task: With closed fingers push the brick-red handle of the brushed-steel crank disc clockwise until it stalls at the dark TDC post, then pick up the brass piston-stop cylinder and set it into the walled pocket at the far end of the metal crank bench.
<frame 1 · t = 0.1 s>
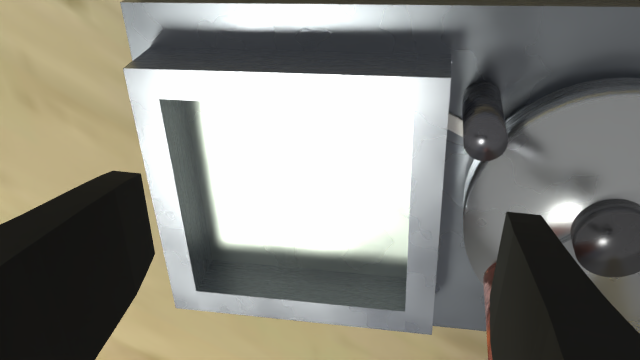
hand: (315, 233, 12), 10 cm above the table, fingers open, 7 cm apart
crank bench: (448, 176, 22), on the table
crank: (620, 255, 18), point 4 cm above the table, hinge at 130.0°
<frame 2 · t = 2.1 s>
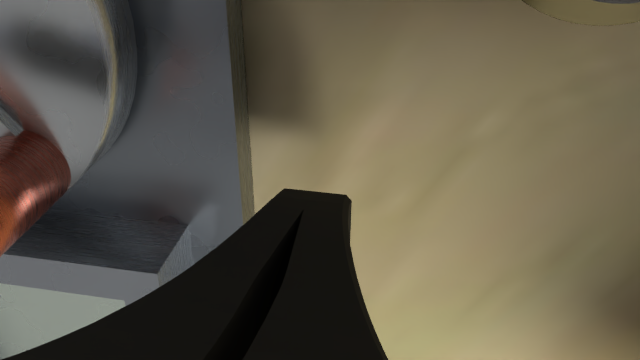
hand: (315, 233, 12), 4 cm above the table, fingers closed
crank bench: (34, 178, 17), on the table
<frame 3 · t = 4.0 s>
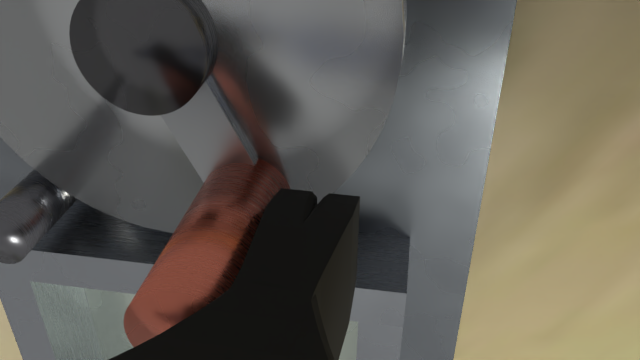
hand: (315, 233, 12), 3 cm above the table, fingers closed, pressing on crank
crank bench: (221, 187, 16), on the table
crank: (124, 61, 10), point 4 cm above the table, hinge at 116.0°, touching gripper
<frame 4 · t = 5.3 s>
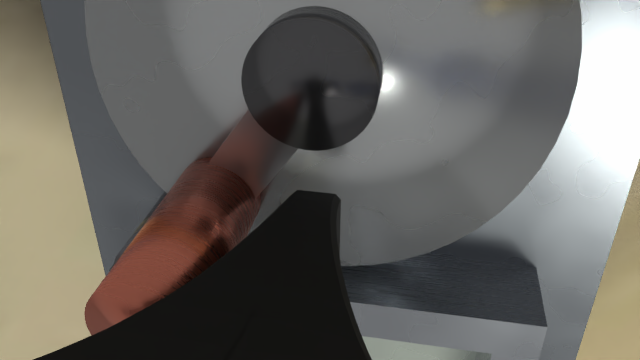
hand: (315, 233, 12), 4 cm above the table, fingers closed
crank bench: (336, 213, 16), on the table
crank: (303, 99, 10), point 4 cm above the table, hinge at 54.0°, touching gripper
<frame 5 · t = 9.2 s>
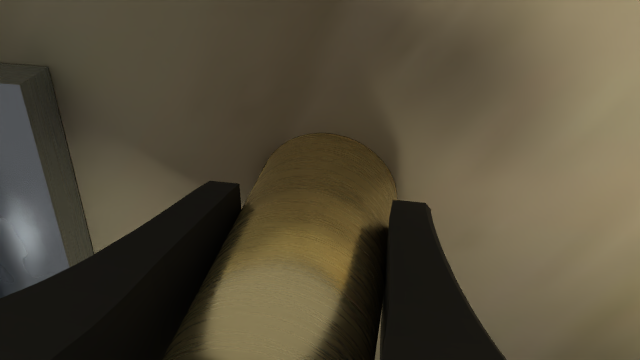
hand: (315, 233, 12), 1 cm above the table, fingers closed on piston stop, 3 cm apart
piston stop: (327, 195, 13), on the table, touching gripper
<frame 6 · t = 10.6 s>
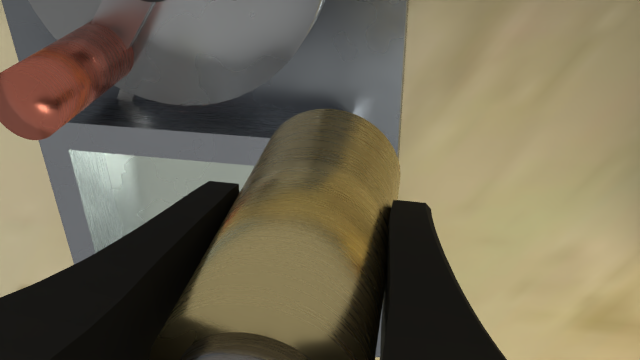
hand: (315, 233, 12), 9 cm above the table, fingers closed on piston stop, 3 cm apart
crank bench: (212, 86, 21), on the table
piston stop: (330, 172, 13), point 7 cm above the table, touching gripper
when the fingers open (4 cm above the table, at t = 12.4 s): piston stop stays where it is, resting on crank bench.
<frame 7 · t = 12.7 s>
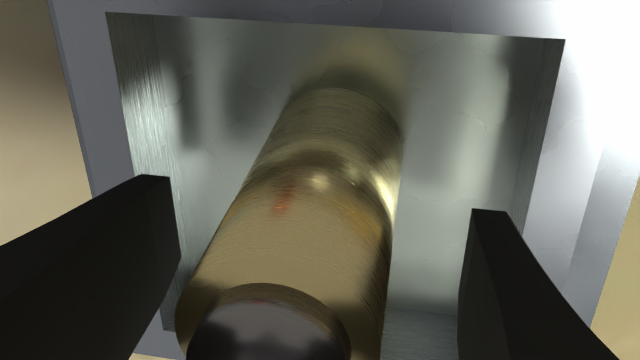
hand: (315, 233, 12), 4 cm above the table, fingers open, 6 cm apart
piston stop: (336, 150, 14), point 1 cm above the table, touching crank bench
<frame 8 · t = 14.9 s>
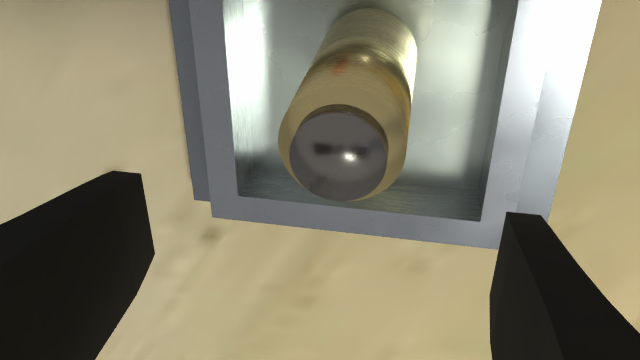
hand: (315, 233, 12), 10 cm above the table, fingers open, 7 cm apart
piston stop: (368, 55, 19), point 1 cm above the table, touching crank bench
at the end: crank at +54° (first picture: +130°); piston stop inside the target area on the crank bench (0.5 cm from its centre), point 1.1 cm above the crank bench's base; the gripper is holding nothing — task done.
